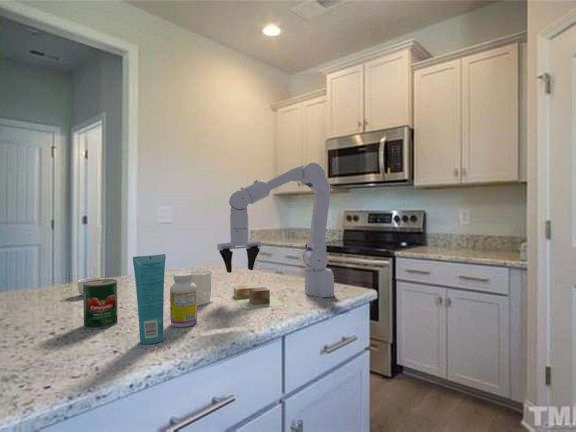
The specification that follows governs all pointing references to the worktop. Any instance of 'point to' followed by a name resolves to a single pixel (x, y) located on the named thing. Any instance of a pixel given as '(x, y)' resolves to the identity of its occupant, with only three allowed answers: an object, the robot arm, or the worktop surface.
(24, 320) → the worktop surface
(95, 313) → the canned tomato
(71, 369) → the worktop surface
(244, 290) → the oak block
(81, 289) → the teacup
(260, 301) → the walnut block
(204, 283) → the white cup
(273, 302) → the build board
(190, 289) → the supplement bottle
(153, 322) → the tube
